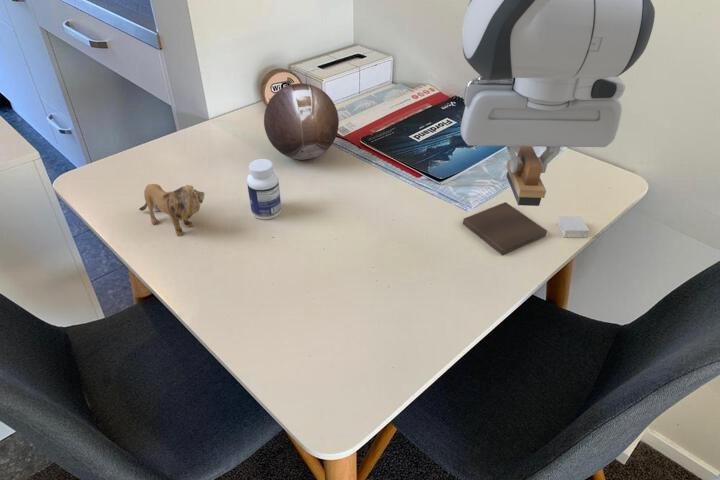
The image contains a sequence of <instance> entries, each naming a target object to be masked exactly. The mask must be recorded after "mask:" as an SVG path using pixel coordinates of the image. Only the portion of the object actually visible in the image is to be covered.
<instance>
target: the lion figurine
mask: <svg viewBox="0 0 720 480" xmlns="http://www.w3.org/2000/svg"><path fill="white" fill-rule="evenodd" d="M143 192H144V193H143V197H144V201H145V203H144V205H143V206H141V207H140V208H138V210H139V211H142V212H143V211H145V210H146V209H147V208H148V214H149V217H150V222H151V225H157V224H158V223H159V220H158V218H156V216H155V212H160V211H161V212H162V213H164V214H165V215H168V216H169V218H170V220H171V222H172V225H173V227H174V230H175V234H176V236H177V237H181V236H183V235H184V234H185V232H184V231H183V228H182V227H181V224H180V221H182V223H183V226H184V227H187V228H191V227H192V226H193V222H192V221H189V219H191V218H192V217H193V215H195V214H197V213H198V212H199V211H200V209H201V204H203V203H204V200H205V192H204V191H199V190H197V189H194V186H193V185H189V184H186V185H182V186H180V187H178V188H177V189H175V190H173V191H168V192H167V191H165V190H164V189H163V188H162V187H161V185H159V184H156V183H149V184H147V185H146V186H145V188H144V191H143Z"/></svg>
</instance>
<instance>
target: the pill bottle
mask: <svg viewBox="0 0 720 480" xmlns="http://www.w3.org/2000/svg"><path fill="white" fill-rule="evenodd" d="M248 171H249V174H248V175H247V177H246V185H247V191H248V196H249V197H248V199H249V205H250V211H251V214H252V215H253V217H255V218H256V219H259V220H271V219H274V218H276V217H278V216H279V215H280V214H281V212H282V200H281V191H280V182H279V176H278V174H277V173H276V171H274V163H273V162H272V161H271V159H266V158H258V159H254V160H252V161H251V162H249V164H248Z"/></svg>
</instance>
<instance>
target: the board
mask: <svg viewBox="0 0 720 480" xmlns="http://www.w3.org/2000/svg"><path fill="white" fill-rule="evenodd" d="M462 225H463V226H465V227H466V228H467V229H469V230H470V231H471V232H472V233H473V234H475V235H476V236H477V237H478V238H480V239H481V240H482V241H483V242H484V243H486V244H487V245H488V246H490V247H491V248H492V249H493V250H495V251H496V252H498V253H499V254H500V255H501V256H505V255H507V254H509V253H512V252H513V251H516V250H517V249H520V248H523V247H525V246H527V245H529V244H531V243H533V242H535V241H538V240H541V239H542V238H545V237H546V236H547V233H548V230H547V229H546V228H544V227H542V225H539V224H538V223H537V222H536V221H534V220H533V219H531V218H530V217H528V216H527V215H525V214H524V213H522V212H521V211H520V210H518V209H516V208H515V207H513V206H512V205H510V204H509V203H508V202H506V201H505V202H502V203H499V204H497V205H494V206H491V207H489V208H487V209H484V210H482V211H479V212H477V213H474V214H472V215H469V216H467V217H463V219H462Z"/></svg>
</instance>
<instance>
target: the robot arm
mask: <svg viewBox="0 0 720 480" xmlns="http://www.w3.org/2000/svg"><path fill="white" fill-rule="evenodd" d="M655 16H656V9H655V6H654V4H653V2H652V0H469V3H468V5H467V9H466V12H465V14H464V18H463V23H462V33H461V37H462V39H461V40H462V41H461V42H462V53H463V57H464V60H466V62H467V63H468V65H470V67H471V68H472V69H473V70H474V71H475V72H476V73H477V74H478V77H476V78H473V79H471V80H470V81H469V82H468V83H467V84H466V86H465V88H464V95H463V103H464V106H465V107H464V110H463V114H462V118H461V123H460V135H461V139H462V140H463V141H464V142H465V144H466V145H467V146H471V147H472V146H473V147H475V146H476V147H477V146H478V147H482V146H483V147H506V149H507V151H508V154H509V156H510V158H511V159H510V160H511V162H510V170H511V172H512V173H522V172H523V169H522V168H523V167H524V164H525V163H524V161H523V159H522V157H517V155H516V153H518V152H519V150H520V146H532V147H545V150H544V151H543V152H542V153H541V155H540V156H537V157H538V159H539V161H540V163H541V165H542V167H543V168H542V171H541V174H545V173H546V171H547V168H548V164H550V162H551V161H552V160H554V158H556V157H557V155H559V153H560V150H561V148H607V147H608V146H609V145H610V144H611V143H612V142H614V140H615V139H616V136H617V132H618V129H619V126H620V121H621V116H622V112H623V111H622V110H623V109H622V103H621V102H620V100H619V99H620V98H621V97H622V96H623V95H624V92H625V90H626V84H625V83H624V81H623V80H622V78H620V77H619V76H621V75H622V74H624V73H625V72H627V71H628V70H629V69H631V68H632V67H633V66H634V64H635V63H636V62H638V60H639V59H640V58H641V56H642V55H643V54H644V52H645V50H646V48H647V46H648V44H649V41H650V38H651V36H652V32H653V28H654V24H655ZM711 480H720V473H719V474H717V475H716V476H715V477H714V478H713V479H711Z"/></svg>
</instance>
